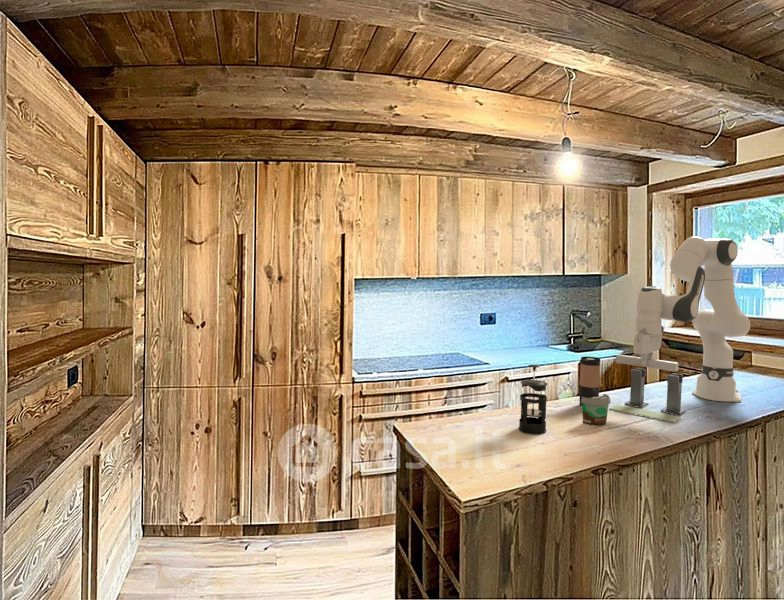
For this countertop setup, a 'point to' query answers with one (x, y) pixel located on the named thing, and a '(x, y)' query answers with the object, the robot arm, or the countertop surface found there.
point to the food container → (595, 410)
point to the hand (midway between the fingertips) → (646, 363)
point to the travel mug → (589, 377)
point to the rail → (650, 362)
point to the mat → (645, 413)
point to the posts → (672, 391)
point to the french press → (532, 423)
